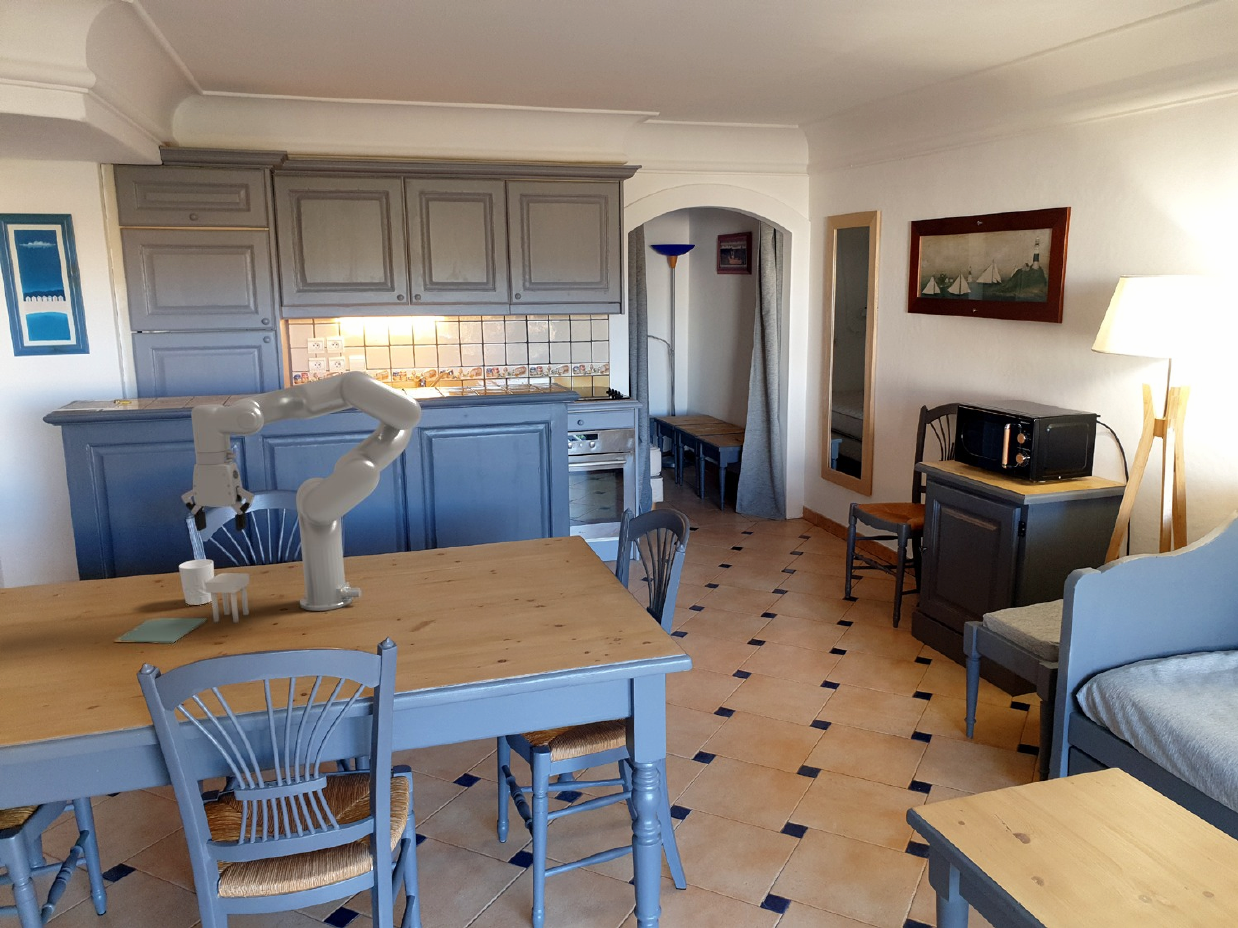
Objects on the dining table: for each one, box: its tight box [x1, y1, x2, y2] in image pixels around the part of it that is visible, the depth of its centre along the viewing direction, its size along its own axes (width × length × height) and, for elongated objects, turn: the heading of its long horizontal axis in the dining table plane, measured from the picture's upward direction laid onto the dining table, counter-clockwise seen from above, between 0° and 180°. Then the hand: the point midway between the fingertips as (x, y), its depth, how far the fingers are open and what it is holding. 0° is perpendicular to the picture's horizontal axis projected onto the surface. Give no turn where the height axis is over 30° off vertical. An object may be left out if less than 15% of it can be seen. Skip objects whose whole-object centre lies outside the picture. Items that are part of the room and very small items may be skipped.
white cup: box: [178, 558, 215, 605], centre depth 226 cm, size 8×8×10 cm
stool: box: [205, 572, 251, 623], centre depth 214 cm, size 7×7×10 cm
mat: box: [116, 617, 208, 644], centre depth 207 cm, size 14×14×1 cm
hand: (221, 529), depth 211 cm, fingers open, 9 cm apart
